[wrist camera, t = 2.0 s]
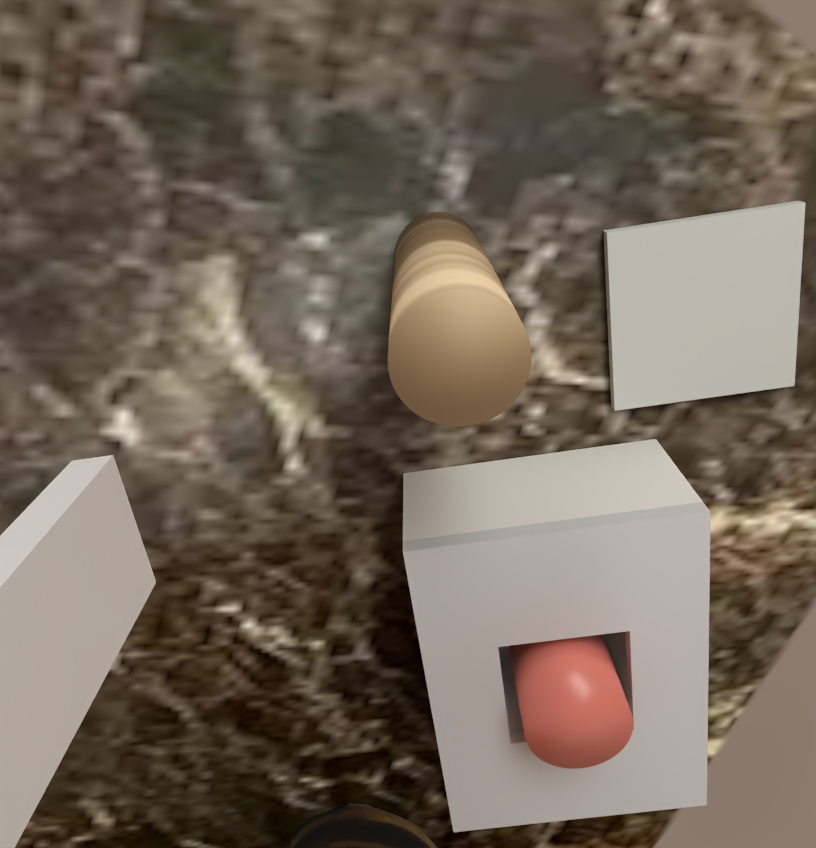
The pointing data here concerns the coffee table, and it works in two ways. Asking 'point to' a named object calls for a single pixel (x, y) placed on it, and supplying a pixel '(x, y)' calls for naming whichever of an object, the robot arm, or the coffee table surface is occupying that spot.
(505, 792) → the box
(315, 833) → the ceramic jug
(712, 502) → the coffee table surface
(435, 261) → the tan wooden rod
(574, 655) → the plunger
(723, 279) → the pad
